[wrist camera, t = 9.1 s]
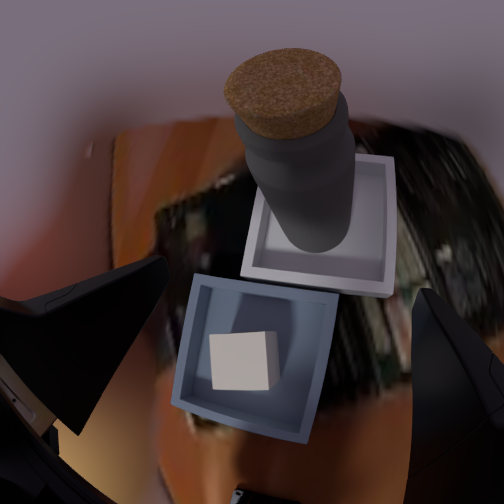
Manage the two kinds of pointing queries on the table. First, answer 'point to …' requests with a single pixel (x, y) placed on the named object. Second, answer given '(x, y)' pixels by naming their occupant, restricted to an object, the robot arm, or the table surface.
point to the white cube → (244, 360)
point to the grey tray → (342, 256)
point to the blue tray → (289, 345)
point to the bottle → (297, 142)
